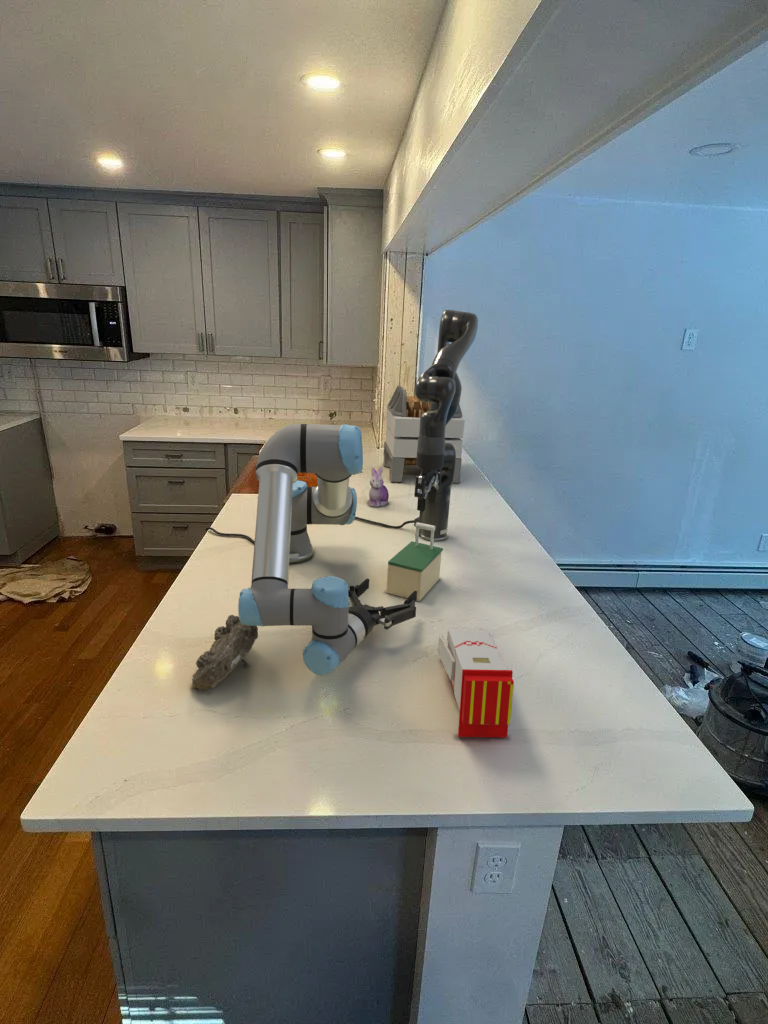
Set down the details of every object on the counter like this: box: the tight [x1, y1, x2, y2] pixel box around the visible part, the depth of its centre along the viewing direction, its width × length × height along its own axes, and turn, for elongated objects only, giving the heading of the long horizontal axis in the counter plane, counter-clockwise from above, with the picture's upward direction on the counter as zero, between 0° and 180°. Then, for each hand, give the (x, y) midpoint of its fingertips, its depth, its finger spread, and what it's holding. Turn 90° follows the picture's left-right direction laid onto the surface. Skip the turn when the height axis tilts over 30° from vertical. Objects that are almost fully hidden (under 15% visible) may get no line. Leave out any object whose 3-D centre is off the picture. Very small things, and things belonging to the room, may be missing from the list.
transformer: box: [383, 384, 465, 484], centre depth 268 cm, size 34×33×41 cm
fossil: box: [191, 614, 259, 691], centre depth 123 cm, size 22×10×15 cm
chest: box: [386, 552, 442, 602], centre depth 162 cm, size 16×10×9 cm, turn 155°
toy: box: [437, 628, 515, 738], centre depth 117 cm, size 12×13×30 cm
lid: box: [387, 522, 444, 572], centre depth 159 cm, size 17×10×8 cm, turn 155°
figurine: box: [367, 466, 390, 507], centre depth 227 cm, size 9×10×15 cm
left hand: (391, 589), depth 147 cm, fingers open, 13 cm apart
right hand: (426, 506), depth 161 cm, fingers open, 8 cm apart
